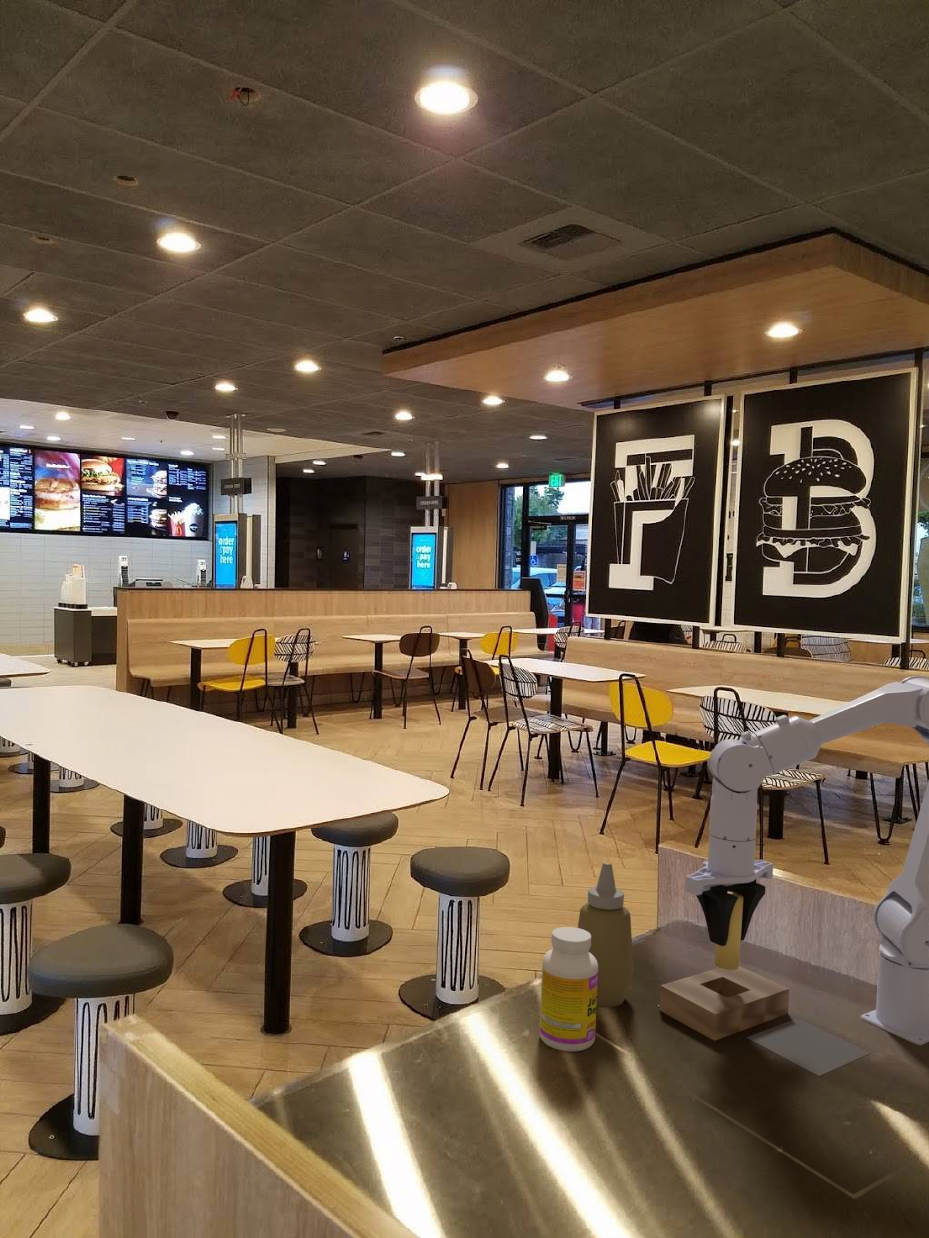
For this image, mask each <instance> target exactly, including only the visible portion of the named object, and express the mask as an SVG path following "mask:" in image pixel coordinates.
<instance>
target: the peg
mask: <svg viewBox="0 0 929 1238" xmlns="http://www.w3.org/2000/svg"><path fill="white" fill-rule="evenodd" d="M728 893H729V894H732V895H734V896H737V897H738V900H737V901H736V903H735V906H734V908H733V911H732V914H731V918H730V924H729V933H728V939H727V943H726V945H725V946H720V945H718V944H715V950H714V951H715V953H714V965H715V966H716V967H717V968H719V967H720V968H722V969H726V970H735V969H738V968H739V966H740V957H741V956H740V954H741V942H742V941H741V928H742V913H743V898H744V897H743V896H742V895H740V894H738V893H734V892H728Z"/></svg>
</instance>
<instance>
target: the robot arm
mask: <svg viewBox="0 0 929 1238" xmlns="http://www.w3.org/2000/svg"><path fill="white" fill-rule="evenodd" d="M775 721H776V723H773V724H771V725H768V726H766V727H764V728H761V729H758V730H756V731H754V732H752V733H751V732H750V731H747V730H746V731H744V732H741V733H740V736H741V740H740V739H734V738H733V739H732V738H731V739H730V738H729V739H724V740H722V741H720V742H719V743H717V744H716V745H715V747H714V748H712V750H711V752H710V755H709V757H708V758H707V759H706V762H707V767H708V770H709V771H710V773H711V775H712V776H713V777H712V784H711V797H710V807H709V808H710V809H709V810H710V811H709V825H708V826H709V829H708V831H709V832H708V851H707V853H708V854H707V860H705V861H703V862H702V868H700V869H698V870H697V871H695V872H694V873H690V874H688V875H685V879H684V880H685V881H684V884H685V885H684V891H685V892H687V893H689V894H692V895H695V896H696V898H697V900H698V902H699V904H700V907H701V909H702V911H703V912H702V913H703V916H704V918H705V922H706V927H707V932H708V937H709V940H710V942H711V943H713V944H715V945H716V944H718V945H720V946H725V945H726V943H727V939H728V933H729V924H730V918H731V914H732V911H733V908H734V906H735V903H736V901H737V900H738V897H737V896H734V895H732V894H729V893H728V892H734V893H738V894H740V895H742V896H743V897H744V898H743V913H742V928H741V942H742V941H745V939H746V936H747V933H748V931H749V930H748V929H749V926H750V924H751V921H752V919H753V915H754V912H755V911H756V909H757V907H758V905H759V903H760V902H761V900H762V898H764V896H765V894H766V885H764V884H761V883H758V882H757V880H759V879H763V878H764V879H765V880H766V879H767V880H769V879H773V877H774V876H773V875H774V873H773V872H774V863H772V862H769V861H766V860H763V859H756V858H755V857H756V839H757V838H756V837H757V820H758V819H757V818H758V814H757V813H758V801H757V800H758V788H759V787H760V786H761V785H762V784H763V782H764V780H765V778H766V777H771V776H772V775H775V774H779V773H781V772H783V771H785V770H788V769H791V768H793V767H795V766H798V765H801V764H803V763H806V762H809V761H810V760H812V759H815V758H816V757H817V756H818V754H819V752H820V750H821V747H822V746H823V745H824V744H826V743H830V742H832V741H835V740H837V739H838V740H839V739H841V738H844V737H847V736H849V735H852V734H854V733H858V732H861V731H864V730H867V729H869V728H872V727H875V726H878V725H881V724H891V725H898V726H903V727H910V728H911V729H913V730H914V731H915V732H917V733H918V734H919V735H920V737H921V738H922V739H923V741H924V742H925V743H926V745H927V747H929V677H926V676H921V675H913V676H909V677H906V678H904V679H903V680H901V681H894V682H890V683H887V684H884V685H883V686H881V687H878V688H877V689H875V690H872V691H871V692H868V693H866V694H864V695H862V696H859V697H858V698H857V697H856V699H853V700H851V701H849V702H846V703H845V704H842V705H840V706H837V707H836V708H833V709H830V710H829V711H826V712H825V713H822V714H820V715H818V716H816V717H814V718H812V719H805V718H803V717H801V716H798V715H793V716H791V717H789V716H787V715H786V714H783V715H780V716H777V717H775ZM915 823H916V824H915V826H914V830H913V833H912V837H911V841H910V844H909V848H908V850H907V855H906V858H905V862H904V865H903V868H902V872H901V873H900V874H899V875H898V876H896V877H894V878H893V879H892V880H891V881H890V882H889V885H888V888H887V891H886V892H885V895H884V896H883V897H882V898H881V899H880V900H878V901H877V903H876V905H875V906H874V909H873V922H874V925H875V928H876V929H877V931H878V932H879V933H880V935H881V942H880V944H879V948H878V949H879V950H878V964H877V965H878V966H877V983H876V984H877V985H876V988H877V989H876V1002H875V1009H873V1010H871V1011H868V1012H866V1013H863V1014H861V1015H860V1019H861V1021H863V1022H866V1023H868V1024H870V1025H873V1026H874V1027H877V1028H879V1029H882V1030H883V1031H886V1032H888V1033H891V1034H893V1035H894V1036H897V1037H899V1038H901V1039H904V1040H906V1041H908V1042H911V1043H913V1044H914V1045H917V1046H923V1045H925V1044H927V1043H929V780H928V781H927V784H926V789H925V792H924V795H923V799H922V803H921V806H920V809H919V812H918V816H917V819H916V822H915Z"/></svg>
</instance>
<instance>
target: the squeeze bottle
mask: <svg viewBox="0 0 929 1238" xmlns="http://www.w3.org/2000/svg"><path fill="white" fill-rule="evenodd" d="M613 869H614V868H613V864H612V863H610V862H603V863H602V864H601V869H600V872H599V875H598V881H597V883H596V884H597V885H596V886H592V887H590V888H589V889H588V891H587V903H585V904H583V905H582V906H581V908H580V909H579V917H578V923H577V928H580V929H583V930H585V931H587V932H589V933H590V934H591V947H590V949H589V953H591V954H592V955H593V956H594V957H595V958H596V960H597V963H598V981H597V1007H598V1008H615V1007H618V1006H620V1005H623V1003H624V1001H625V999H626V997H627V995H628V991H629V989H630V987H631V984H632V980H633V979H634V976H635V974H634V956H633V955H634V954H633V953H634V952H633V939H632V937H633V935H632V925H631V924H632V922H631V921H632V920H631V919H632V917H631V913H630V910H629V909H627V908H626V907H625V906H624V903H625V902H624V900H625V893H624V891H623V890H622V889H619V888H616V886H617V885H616V881H615V876H614V870H613Z"/></svg>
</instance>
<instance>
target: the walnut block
mask: <svg viewBox="0 0 929 1238" xmlns="http://www.w3.org/2000/svg"><path fill="white" fill-rule="evenodd" d="M789 997H790V988H789V987H786V986H784V985H781V984H779V983H777V982H775V981H774V980H772V979H768V978H766V977H765V976H762V975H760V974H758V973H756V972H753V971H751V970H749V969H746V968H744V967H742V966H740V965H739V968H738V969H735V970H726V969H722V968H720V967H716V968H713V969H709V970H706V971H703V972H700V973H696V974H693V975H689V976H687V977H684V978H679V979H677V980H674V981H671V982H667V983H664V984H661V985H660V988H659V1009H658V1011H660V1012H661V1013H664V1014H665V1015H667V1016H669V1017H671V1018H673V1019H674V1020H676V1021H678V1022H679V1023H681V1024H683V1025H685V1026H686V1027H688V1028H691V1029H692V1030H694V1031H696V1032H698V1033H699V1034H702V1035H703V1036H705V1037H707V1039H710V1040H712V1041H713V1042H714V1041H717V1040H720V1039H722V1038H723V1039H724V1038H726V1037H729V1036H731V1035H733V1034H737V1033H739V1032H741V1031H745V1030H747V1029H751V1028H753V1027H756V1026H759V1025H760V1024H764V1023H767V1022H769V1021H772V1020H774V1019H777V1018H779V1017H782V1016H785V1015H788V1014H789V1004H790V1003H789V1001H790V1000H789V999H790V998H789Z"/></svg>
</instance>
